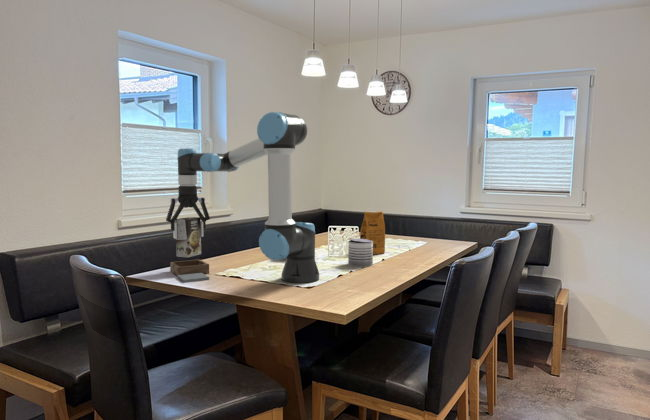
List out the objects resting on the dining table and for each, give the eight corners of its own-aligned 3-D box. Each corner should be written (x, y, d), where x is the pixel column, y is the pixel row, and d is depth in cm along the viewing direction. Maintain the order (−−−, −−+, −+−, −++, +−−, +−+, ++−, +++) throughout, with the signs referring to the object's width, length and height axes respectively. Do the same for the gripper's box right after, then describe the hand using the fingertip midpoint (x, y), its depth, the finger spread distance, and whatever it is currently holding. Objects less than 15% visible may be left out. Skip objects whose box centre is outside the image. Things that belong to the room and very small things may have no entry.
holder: (209, 273, 205) (209, 264, 205) (178, 277, 198) (177, 267, 198) (200, 268, 216) (199, 259, 216) (170, 271, 209) (170, 262, 209)
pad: (209, 279, 194) (209, 277, 194) (184, 282, 189) (183, 280, 189) (201, 274, 202) (201, 272, 202) (177, 277, 197) (177, 275, 197)
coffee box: (188, 257, 201) (187, 219, 200) (176, 256, 204) (174, 218, 202) (201, 254, 210) (201, 217, 208) (189, 253, 212) (188, 216, 211)
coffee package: (357, 252, 259) (358, 211, 257) (379, 251, 262) (379, 210, 260) (364, 255, 249) (364, 212, 247) (386, 254, 253) (387, 212, 251)
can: (348, 262, 231) (348, 237, 230) (372, 262, 231) (372, 237, 230) (348, 266, 220) (348, 240, 219) (373, 267, 219) (373, 240, 218)
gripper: (211, 184, 213) (212, 234, 215) (157, 185, 201) (158, 238, 203) (217, 185, 207) (217, 236, 209) (161, 186, 195) (162, 240, 197)
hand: (188, 237), depth 206 cm, fingers closed on coffee box, 11 cm apart
